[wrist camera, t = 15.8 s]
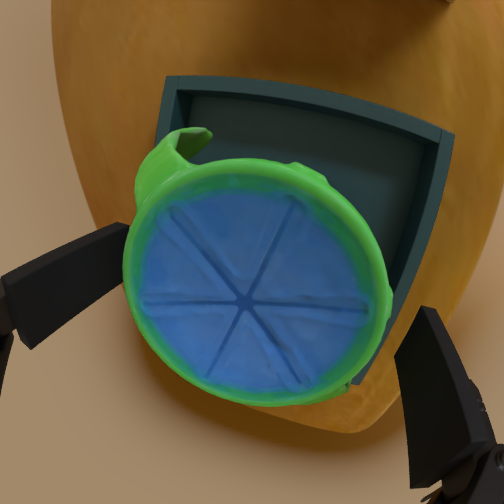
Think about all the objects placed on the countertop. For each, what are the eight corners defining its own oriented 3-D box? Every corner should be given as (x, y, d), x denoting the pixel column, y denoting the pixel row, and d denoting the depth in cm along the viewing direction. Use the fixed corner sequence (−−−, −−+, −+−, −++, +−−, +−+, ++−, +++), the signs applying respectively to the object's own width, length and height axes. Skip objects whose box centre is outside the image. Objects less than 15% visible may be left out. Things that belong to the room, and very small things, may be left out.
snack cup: (168, 174, 19) (59, 201, 10) (292, 94, 15) (255, 30, 6) (269, 343, 22) (233, 444, 13) (392, 297, 18) (426, 403, 9)
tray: (434, 136, 15) (455, 134, 11) (357, 358, 22) (359, 386, 19) (189, 85, 18) (166, 75, 14) (167, 303, 25) (147, 323, 22)
